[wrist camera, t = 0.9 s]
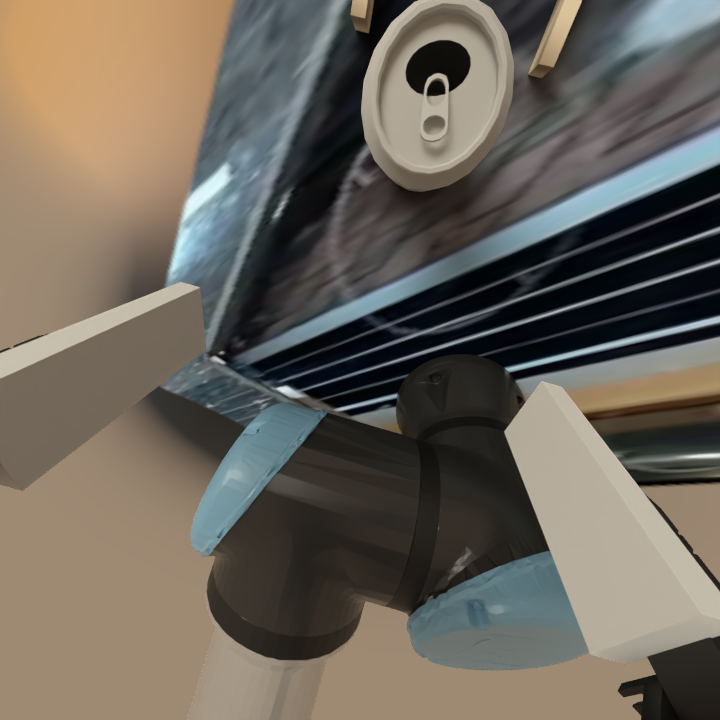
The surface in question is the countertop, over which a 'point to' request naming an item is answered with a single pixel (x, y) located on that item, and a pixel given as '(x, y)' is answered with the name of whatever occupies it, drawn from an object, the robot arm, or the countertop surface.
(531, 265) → the countertop surface
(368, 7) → the wooden bracket
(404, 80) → the can
